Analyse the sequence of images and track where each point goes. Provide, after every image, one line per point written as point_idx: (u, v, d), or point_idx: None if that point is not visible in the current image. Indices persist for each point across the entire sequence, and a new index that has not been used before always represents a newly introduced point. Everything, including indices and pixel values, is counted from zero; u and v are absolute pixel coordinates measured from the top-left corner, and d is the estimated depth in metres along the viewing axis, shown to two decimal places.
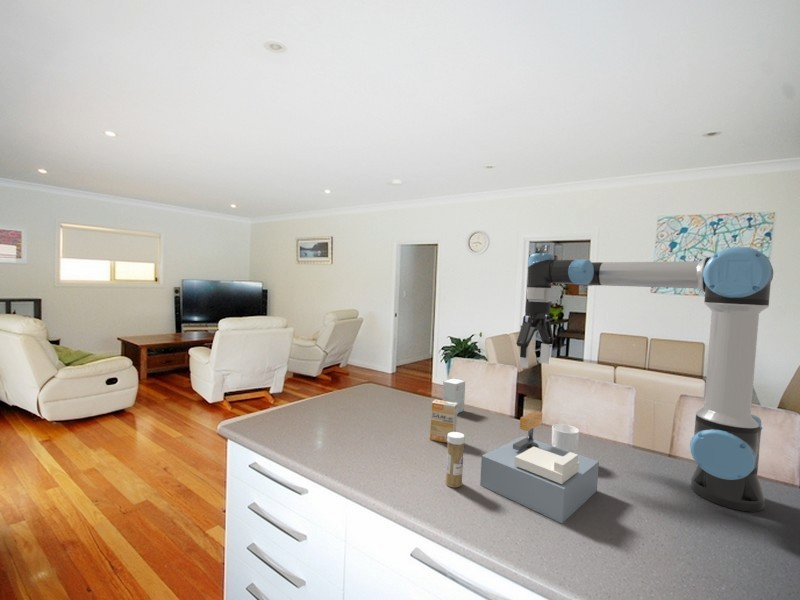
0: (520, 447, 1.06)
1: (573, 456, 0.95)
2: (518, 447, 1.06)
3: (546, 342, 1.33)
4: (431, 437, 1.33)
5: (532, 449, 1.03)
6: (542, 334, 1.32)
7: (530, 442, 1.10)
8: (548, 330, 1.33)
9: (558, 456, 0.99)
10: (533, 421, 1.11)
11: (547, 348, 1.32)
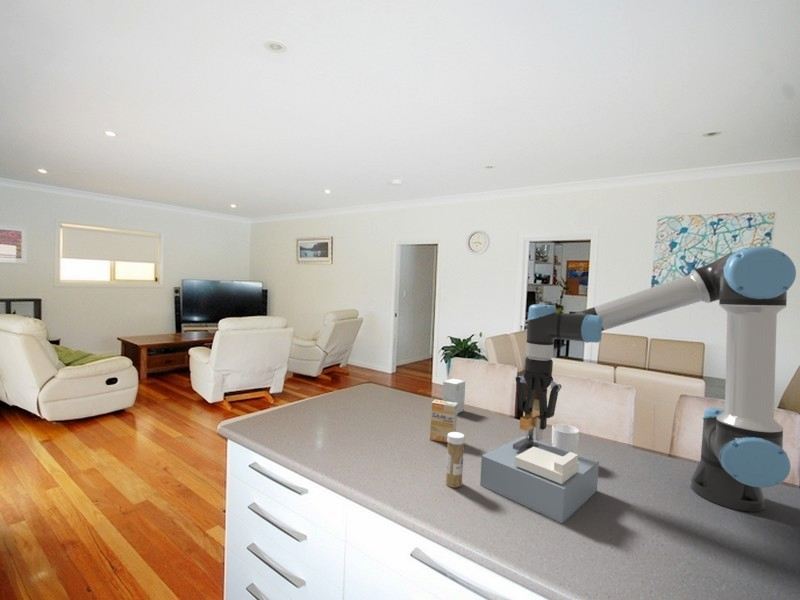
0: (520, 447, 1.06)
1: (573, 456, 0.95)
2: (518, 447, 1.06)
3: None
4: (431, 437, 1.33)
5: (532, 449, 1.03)
6: None
7: (530, 442, 1.10)
8: None
9: (558, 456, 0.99)
10: (533, 421, 1.11)
11: None
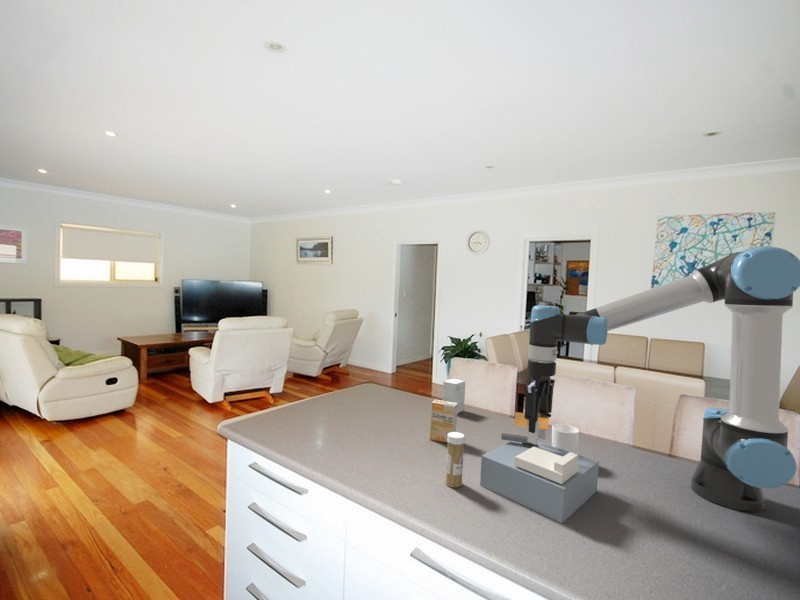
0: (503, 436, 1.13)
1: (573, 456, 0.95)
2: None
3: None
4: (431, 437, 1.33)
5: (532, 449, 1.03)
6: None
7: (523, 440, 1.12)
8: None
9: (558, 456, 0.99)
10: None
11: None
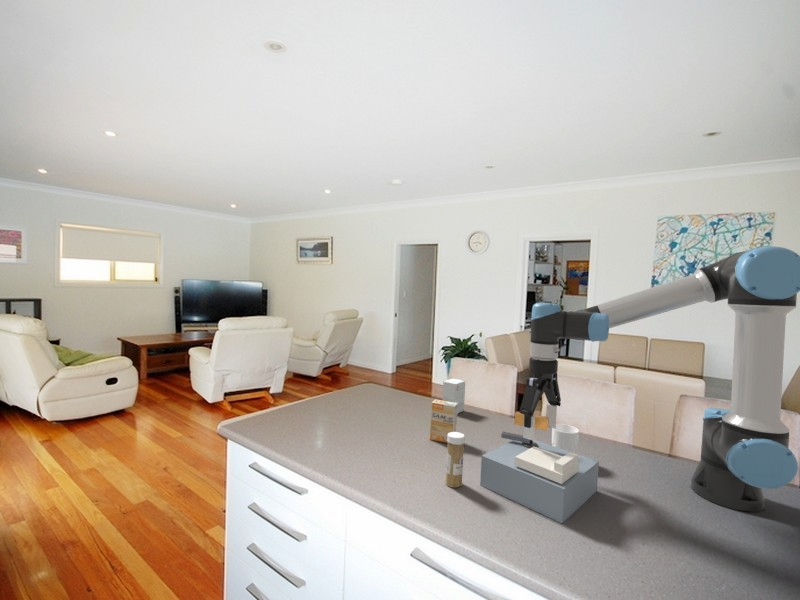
0: (503, 435, 1.14)
1: (573, 456, 0.95)
2: (501, 434, 1.15)
3: None
4: (431, 437, 1.33)
5: (532, 449, 1.03)
6: None
7: (523, 439, 1.12)
8: None
9: (558, 456, 0.99)
10: None
11: None
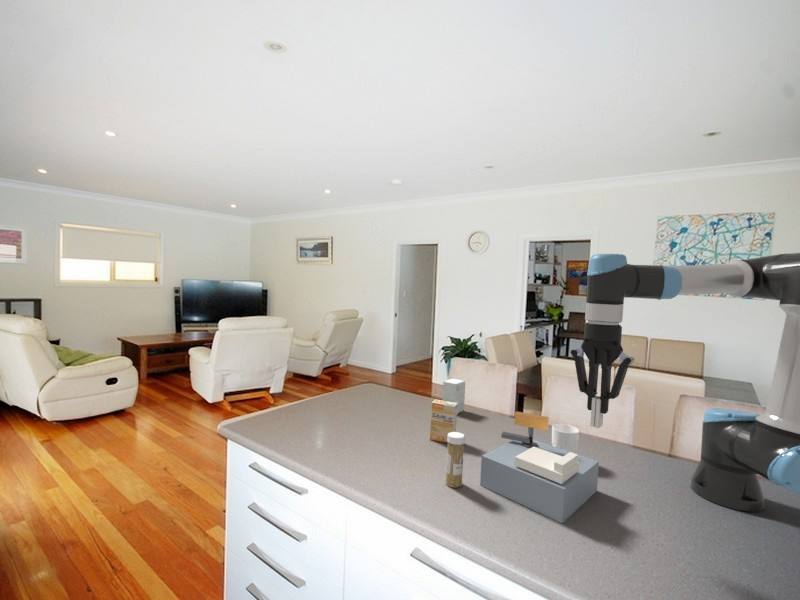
0: (503, 435, 1.15)
1: (573, 456, 0.95)
2: (501, 434, 1.15)
3: None
4: (431, 437, 1.33)
5: (532, 449, 1.03)
6: None
7: (523, 439, 1.12)
8: None
9: (558, 456, 0.99)
10: (528, 421, 1.11)
11: None
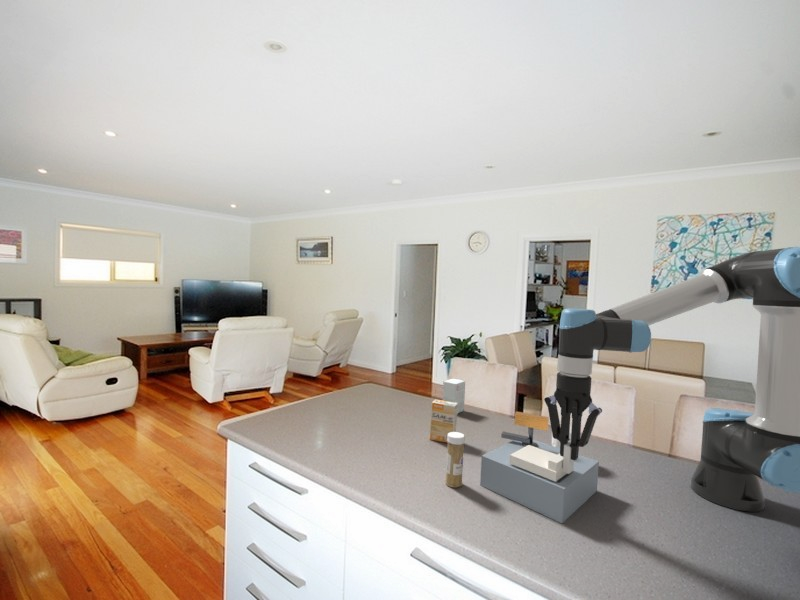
0: (503, 435, 1.15)
1: None
2: (501, 434, 1.15)
3: None
4: (431, 437, 1.33)
5: (527, 447, 1.04)
6: None
7: (523, 439, 1.12)
8: None
9: (553, 454, 1.00)
10: (528, 421, 1.11)
11: None
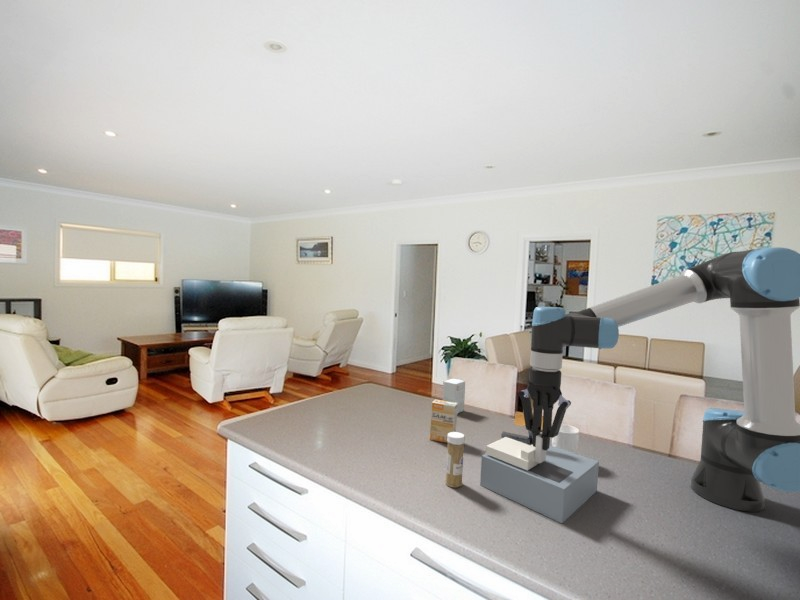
0: (503, 435, 1.15)
1: None
2: (501, 434, 1.15)
3: None
4: (431, 437, 1.33)
5: (504, 439, 1.09)
6: None
7: (523, 439, 1.12)
8: None
9: (527, 445, 1.05)
10: None
11: None
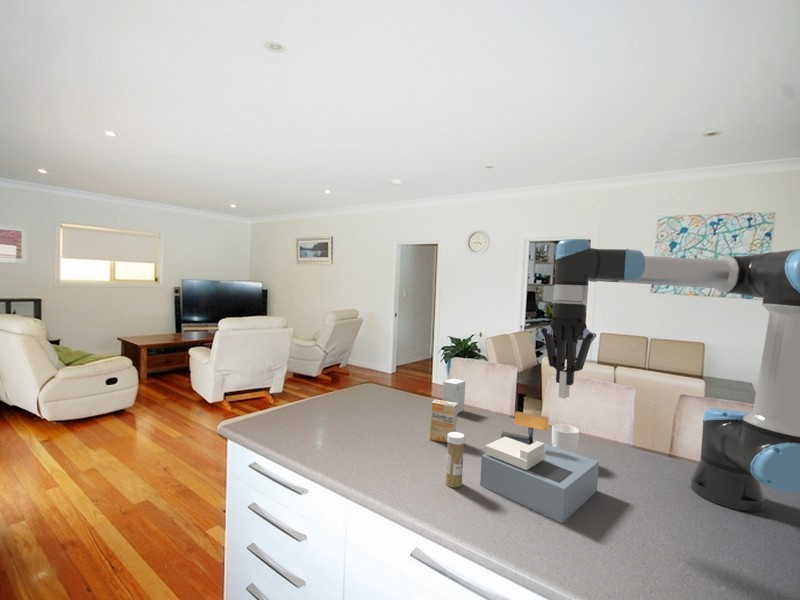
0: (503, 435, 1.15)
1: (539, 444, 1.01)
2: (501, 434, 1.15)
3: None
4: (431, 437, 1.33)
5: (503, 439, 1.09)
6: None
7: (523, 439, 1.12)
8: None
9: (526, 445, 1.06)
10: (528, 421, 1.11)
11: None
